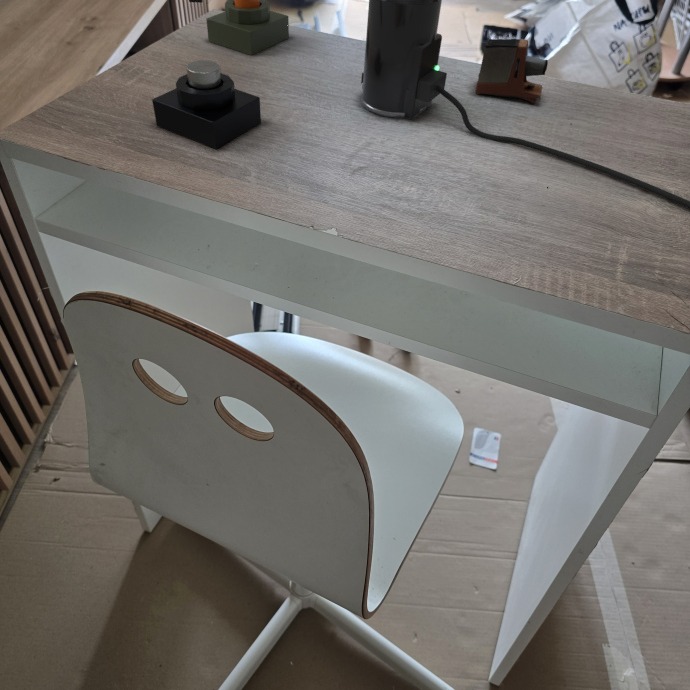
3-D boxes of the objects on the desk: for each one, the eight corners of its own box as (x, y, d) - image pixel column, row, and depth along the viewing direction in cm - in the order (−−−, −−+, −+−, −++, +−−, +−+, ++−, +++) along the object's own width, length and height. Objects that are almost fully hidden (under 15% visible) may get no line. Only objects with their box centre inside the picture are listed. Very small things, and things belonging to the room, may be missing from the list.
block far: (247, 25, 105) (244, -10, 101) (288, 38, 102) (288, 2, 98) (208, 41, 99) (204, 4, 95) (251, 55, 96) (249, 17, 92)
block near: (261, 123, 80) (259, 81, 76) (216, 149, 74) (211, 106, 70) (203, 102, 83) (198, 61, 79) (156, 125, 78) (149, 83, 74)
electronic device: (538, 105, 88) (553, 52, 83) (473, 95, 90) (484, 41, 84) (540, 94, 91) (555, 41, 86) (477, 84, 93) (487, 31, 87)
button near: (228, 84, 76) (226, 65, 74) (206, 95, 73) (204, 75, 71) (203, 76, 77) (201, 57, 75) (182, 86, 74) (179, 67, 73)
